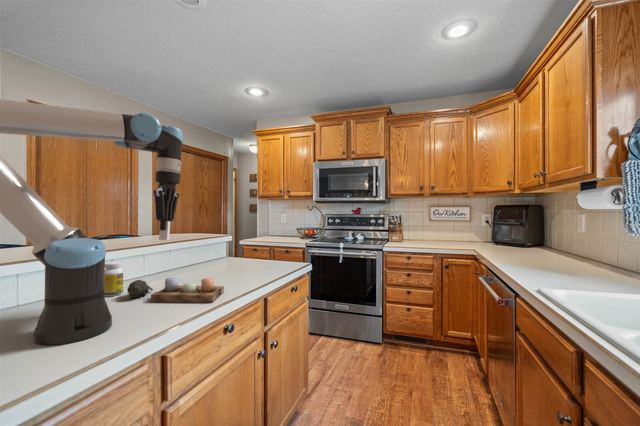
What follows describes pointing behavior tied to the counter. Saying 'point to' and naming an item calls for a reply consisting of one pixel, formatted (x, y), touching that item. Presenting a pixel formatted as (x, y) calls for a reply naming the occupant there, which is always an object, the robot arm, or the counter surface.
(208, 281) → the terracotta button
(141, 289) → the hand grenade
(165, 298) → the wooden tray
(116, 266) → the pill bottle
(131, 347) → the counter surface
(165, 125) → the robot arm
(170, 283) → the grey cylinder
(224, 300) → the counter surface
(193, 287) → the sage button
